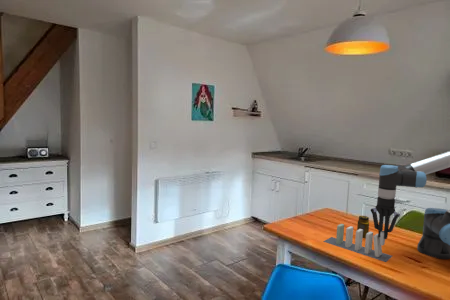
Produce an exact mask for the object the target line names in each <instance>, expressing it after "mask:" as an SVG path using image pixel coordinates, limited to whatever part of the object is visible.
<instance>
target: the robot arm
mask: <svg viewBox="0 0 450 300" xmlns="http://www.w3.org/2000/svg"><path fill="white" fill-rule="evenodd" d="M448 168H450V150H448V151H445V152H442V153H439V154H436V155H432V156H430V157H427V158H424V159H421V160H417V161H415V162H411V163H409V164H405V165H391V164H382V165H381V166H380V168H379V177H378V188H377V189H378V190H377V199H376V200H377V201H376V206H375V207H372V208H371V209H370V212H371V214H372V219H373V225H374V229H375V230H377V231H378V233H377V234H378V237H380V244H379V245H381V247H383V246H384V245H385V244H386V242H385V241H386V240H387V239H388V236H389V234H388V233H391V232H393V230H394V228H395V226H396V222H397V220H398V218H399V217H400V216H401V214H400V213H398V212H396V209H395V205H396V199H395V198H396V194H397V186H398V187H408V188H425V186H426V185H427V175H429V174H432V173H436V172H438V171H442V170H445V169H448ZM377 213H378V214H377ZM391 216H393V218H392V220H391V223H390V218H391ZM423 216H424V217H423V227H422V235H421V238H420V239H419V241H418V244H417V246H416V247H417V248H416V249H417V251H418V252H419V253H421V254H423V255H425V256H427V257H428V256H429V257H432V258H436V259H441V260H449V259H450V209H447V208H446V209H444V208H437V207H427V208H426V209H425V210H424V215H423ZM378 217H379V218H378ZM383 228H384V229H383Z"/></svg>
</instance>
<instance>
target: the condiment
mask: <svg viewBox="0 0 450 300" xmlns="http://www.w3.org/2000/svg"><path fill="white" fill-rule="evenodd" d="M369 219H370V218H369V217H368V216H367V215H359V216H358V220H357V225H356V226H357V227H356V231H357V230H359V229H363V238H362V239H366V234H367V233H368V232H370V231H369V230H370V222H369V221H370V220H369Z"/></svg>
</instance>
